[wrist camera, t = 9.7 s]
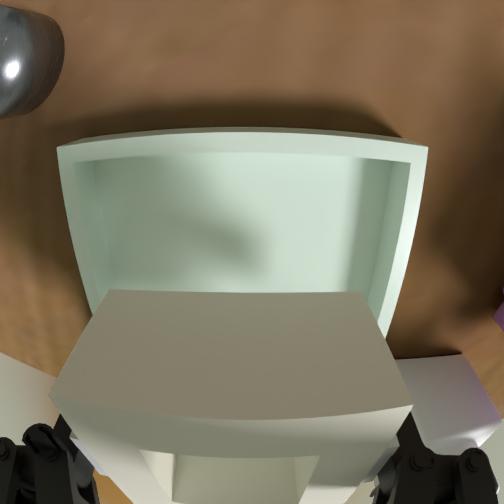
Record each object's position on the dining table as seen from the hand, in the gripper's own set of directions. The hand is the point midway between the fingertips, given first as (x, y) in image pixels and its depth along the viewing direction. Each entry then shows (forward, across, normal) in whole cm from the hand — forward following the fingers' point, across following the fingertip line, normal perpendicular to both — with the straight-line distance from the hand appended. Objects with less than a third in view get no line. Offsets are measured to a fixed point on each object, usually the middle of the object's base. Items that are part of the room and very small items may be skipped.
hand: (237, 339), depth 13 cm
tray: (+5, 0, 0) cm, 5 cm away
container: (+5, +14, -11) cm, 18 cm away
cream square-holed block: (-2, 0, 0) cm, 2 cm away
